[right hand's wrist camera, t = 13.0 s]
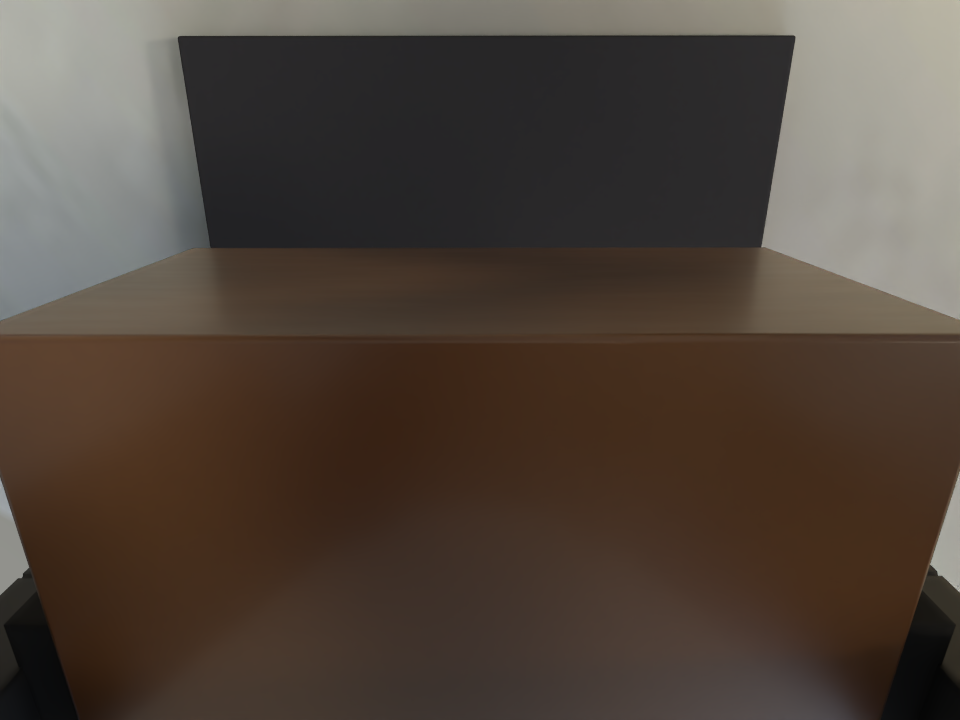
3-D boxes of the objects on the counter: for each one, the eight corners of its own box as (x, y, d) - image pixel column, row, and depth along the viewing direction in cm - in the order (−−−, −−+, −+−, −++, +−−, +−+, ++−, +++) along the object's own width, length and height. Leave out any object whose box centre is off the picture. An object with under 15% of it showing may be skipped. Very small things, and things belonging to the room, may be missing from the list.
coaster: (787, 38, 20) (796, 34, 19) (707, 540, 27) (712, 549, 26) (185, 38, 20) (176, 35, 19) (261, 539, 27) (257, 547, 26)
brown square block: (767, 246, 10) (1007, 334, 6) (695, 679, 14) (807, 957, 9) (190, 247, 10) (-50, 336, 6) (263, 681, 14) (152, 961, 9)
